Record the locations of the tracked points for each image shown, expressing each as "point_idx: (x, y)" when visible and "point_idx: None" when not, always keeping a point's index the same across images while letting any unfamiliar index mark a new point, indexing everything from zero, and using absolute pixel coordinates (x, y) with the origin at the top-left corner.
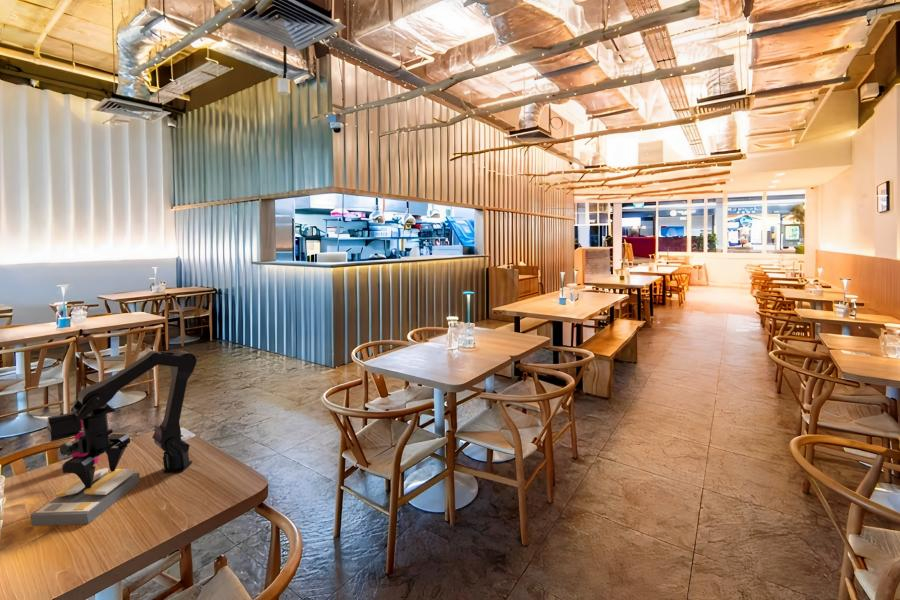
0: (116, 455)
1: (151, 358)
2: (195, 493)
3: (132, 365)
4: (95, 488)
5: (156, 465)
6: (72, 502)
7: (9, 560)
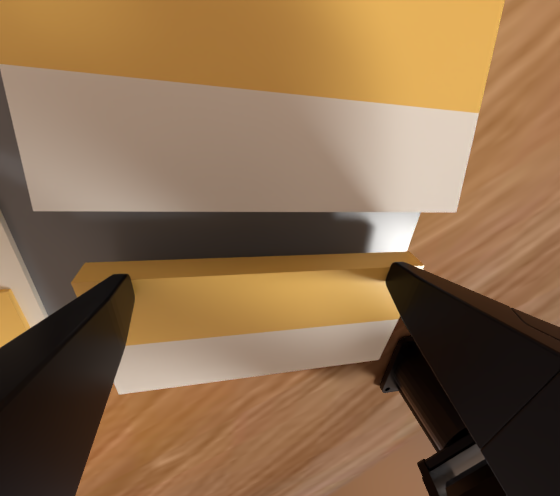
0: (493, 430)
1: None
2: (240, 473)
3: None
4: (133, 329)
5: (481, 278)
6: (9, 195)
7: None
